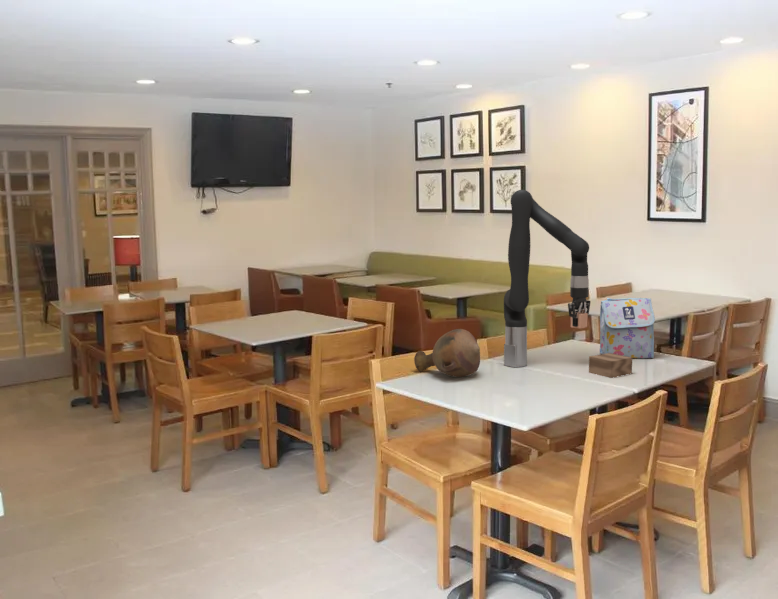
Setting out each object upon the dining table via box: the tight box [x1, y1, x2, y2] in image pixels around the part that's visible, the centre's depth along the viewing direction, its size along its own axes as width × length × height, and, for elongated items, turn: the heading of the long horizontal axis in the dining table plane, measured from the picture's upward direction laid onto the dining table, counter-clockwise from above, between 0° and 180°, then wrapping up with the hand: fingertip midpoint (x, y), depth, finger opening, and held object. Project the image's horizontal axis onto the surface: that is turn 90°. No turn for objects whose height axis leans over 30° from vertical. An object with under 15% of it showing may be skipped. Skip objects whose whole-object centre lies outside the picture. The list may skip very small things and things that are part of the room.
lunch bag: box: [599, 297, 656, 359], centre depth 346 cm, size 22×17×26 cm
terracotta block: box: [570, 312, 589, 329], centre depth 329 cm, size 5×5×6 cm
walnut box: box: [588, 353, 633, 379], centre depth 316 cm, size 12×12×7 cm
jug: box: [413, 328, 481, 378], centre depth 319 cm, size 20×20×30 cm
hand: (579, 325), depth 329 cm, fingers closed on terracotta block, 5 cm apart
